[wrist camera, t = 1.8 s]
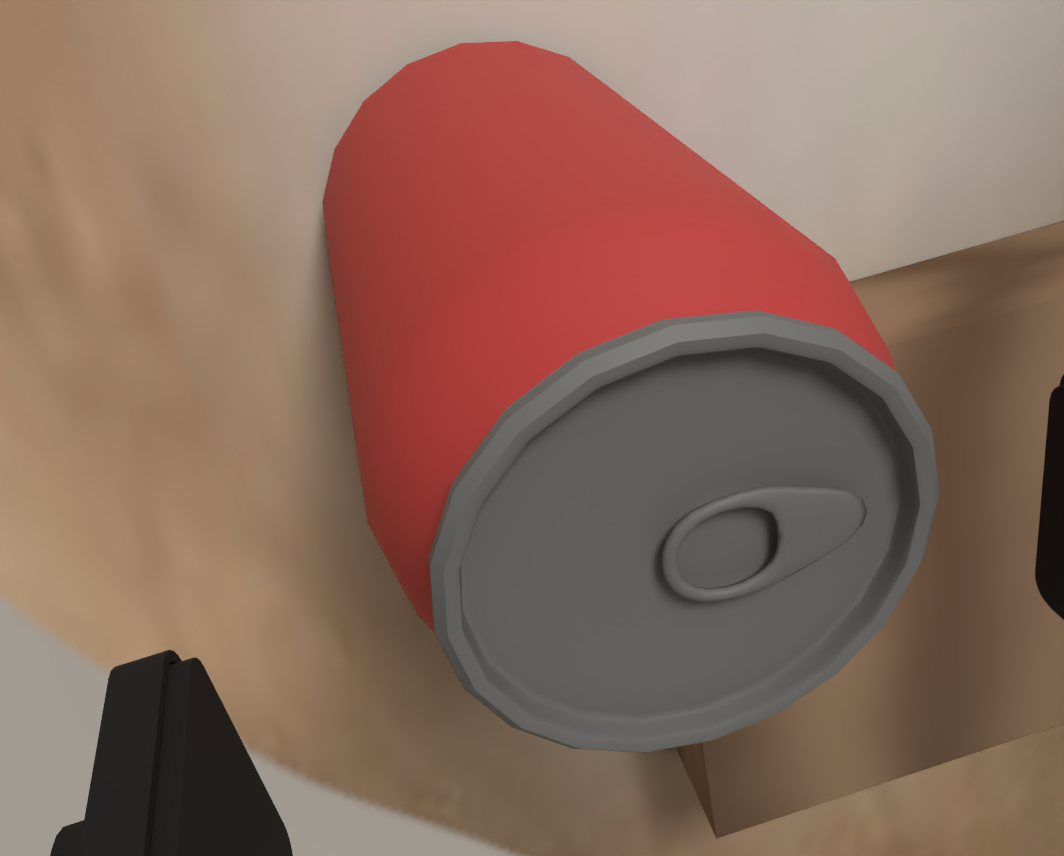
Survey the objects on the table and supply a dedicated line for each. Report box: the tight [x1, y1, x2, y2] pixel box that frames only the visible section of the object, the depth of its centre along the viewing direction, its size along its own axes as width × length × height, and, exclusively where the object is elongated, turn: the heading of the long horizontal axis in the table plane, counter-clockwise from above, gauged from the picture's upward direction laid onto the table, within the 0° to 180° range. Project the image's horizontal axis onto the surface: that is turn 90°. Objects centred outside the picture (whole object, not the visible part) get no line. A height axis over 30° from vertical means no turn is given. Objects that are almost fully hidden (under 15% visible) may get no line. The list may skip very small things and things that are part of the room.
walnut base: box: [678, 221, 1064, 838], centre depth 26 cm, size 14×14×3 cm
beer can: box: [323, 41, 939, 753], centre depth 16 cm, size 7×7×12 cm
